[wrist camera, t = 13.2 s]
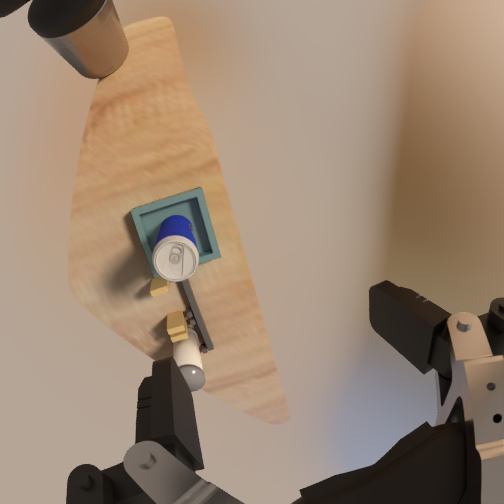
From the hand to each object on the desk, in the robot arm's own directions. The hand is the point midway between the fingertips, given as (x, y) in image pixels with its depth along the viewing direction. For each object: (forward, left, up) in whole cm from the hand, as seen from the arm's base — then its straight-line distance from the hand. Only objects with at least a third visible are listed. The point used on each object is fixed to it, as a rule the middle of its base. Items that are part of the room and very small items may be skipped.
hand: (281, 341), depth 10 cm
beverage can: (+2, -5, -35) cm, 36 cm away
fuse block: (+17, -8, -36) cm, 40 cm away
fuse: (+21, -10, -36) cm, 43 cm away
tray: (+2, -5, -36) cm, 36 cm away
